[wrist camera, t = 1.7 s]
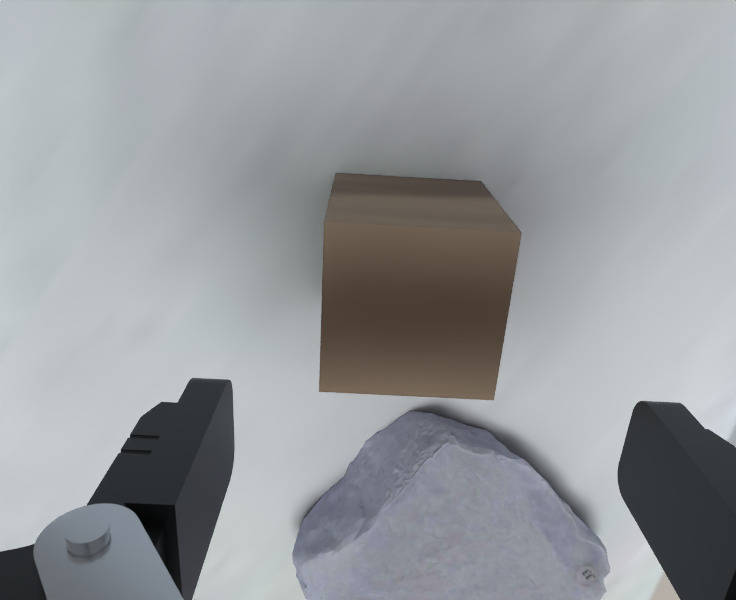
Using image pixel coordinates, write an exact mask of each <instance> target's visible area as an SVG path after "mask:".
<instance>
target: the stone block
mask: <svg viewBox="0 0 736 600" xmlns="http://www.w3.org/2000/svg"><path fill="white" fill-rule="evenodd" d="M293 562H294V565H295V567H296V569H297V573H296V576H297V578H298V580H299V582H300V585H301V588H302V591H303V593H304V595H305V597H306V599H307V600H600V599H601V598H602V597H603V595H604V593H605V592H606V589H605V586H604V583H603V579H604V578H605V577H606V575H607V574H608V573H609V572H610V566H609V563H608V560H607V552H606V548H605V547H604V545H603V543H602V542H601V540H600V539H599V538H598V537H597V536H596V535H595V534H594V533H593V532H592V531H591V530H590V529H589V527H588V526H587V525H585V524H584V523H583V522H582V521H581V520H580V519H579V518H578V517H577V516H576V515H575V514H574V513H573V511H572V510H571V508H570V506H569V505H568V504H567V503H565V502H564V501H563V500H562V499H561V498H560V497H558V495H557V494H556V493H555V491H554V490H553V489H552V488H551V486H550V485H549V483H548V482H547V481H546V480H545V479H544V478H543V477H542V476H541V475H540V474H538V473H537V472H536V471H535V469H534V468H533V467H532V466H531V465H530V464H529V463H528V462H527V461H525V460H524V459H522V458H520V457H519V456H517V455H515V454H513V453H512V452H510V451H509V450H508V449H507V448H506V446H505V445H504V444H502V443H501V442H499V441H498V440H496V439H495V437H494V436H493V435H492V434H491V433H490V432H488V431H486V430H484V429H482V428H476V427H472V426H469V425H466V424H463V423H461V422H458V421H456V420H452V419H449V418H444V417H441V416H439V415H436V414H433V413H427V412H421V411H410V412H408V413H406V414H404V415H402V416H401V417H399V418H398V419H397V420H396V421H395V422H394V423H392V424H391V425H389V426H388V427H386V428H384V429H383V430H382V431H380V432H378V433H376V434H375V435H374V436H373V437H371V438H370V439H368V440H367V441H366V442H365V444H364V446H363V447H362V449H361V450H360V452H359V454H358V455H357V457H356V458H355V459H354V461H353V462H351V463H350V464H349V467H348V469H347V472H346V475H345V476H344V477H343V478H342V479H341V480H339V482H338V483H337V484H336V485H334V486H333V487H331V488H330V489H329V491H327V492H326V493H325V494H324V495H323V496H322V497H321V499H320V500H319V501H318V502H317V503H316V504H315V506H314V507H313V508H312V509H311V511H310V512H309V513H308V515H307V516H306V517H305V518H304V519H303V522H302V524H301V525H300V529H299V532H298V536H297V539H296V542H295V546H294V550H293Z"/></svg>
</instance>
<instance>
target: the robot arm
mask: <svg viewBox="0 0 736 600" xmlns="http://www.w3.org/2000/svg"><path fill="white" fill-rule="evenodd" d="M233 461H234V419H233V390H232V383H231V381H230V380H223V379H202V378H192V379H190V381H189V383H188V385H187V386H186V388H185V390H184V392H183V394H182V396H181V398H180V399H179V401H178V403H171V402H161V403H159V404H158V405H157V406H155V407H154V408H153V409H151V410H150V411H148V412H147V413H146V414H144V415H143V416H142V417H141V418H140V419H139V421H138V423H137V424H136V426H135V428H134V429H133V431H132V432H131V434H130V438H128V439H127V441H126V442H125V444H124V445H123V447H122V449H121V453H119V454H118V455H117V457H116V458H115V460H114V462H113V463H112V465H111V467H110V468H109V470H108V471H107V473H106V475H105V476H104V478H103V480H102V481H101V483H100V484H99V486H98V488H97V489H96V491H95V493H94V494H93V496H92V497H91V499H90V501H89V502H88V504H87V506H83V507H80V508H77V509H74V510H72V511H70V512H67V513H65V514H64V515H62V516H60V517H58V518H57V519H55V520H54V521H53V522H51V523H50V524H49V525H48V526H47V527H46V528H45V529H44V530H43V531H42V532H41V533H40V535H39V537H38V538H37V540H36V542H35V544H33V545H30V546H26V547H22V548H18V549H12V550H7V551H2V552H0V600H192V598H193V595H194V591H195V588H196V585H197V582H198V579H199V576H200V573H201V569H202V566H203V563H204V560H205V557H206V554H207V551H208V547H209V544H210V541H211V538H212V535H213V532H214V529H215V525H216V522H217V519H218V516H219V513H220V510H221V507H222V503H223V500H224V497H225V494H226V491H227V488H228V485H229V482H230V478H231V474H232V469H233ZM618 484H619V489H620V493H621V495H622V498H623V500H624V501H625V503H626V505H627V507H628V508H629V510H630V512H631V514H632V515H633V517H634V519H635V521H636V522H637V524H638V526H639V528H640V529H641V531H642V533H643V535H644V536H645V538H646V540H647V542H648V543H649V545H650V547H651V549H652V550H653V552H654V554H655V556H656V557H657V559H658V561H659V563H660V564H661V566H662V568H663V570H664V572H665V573H666V575H667V577H668V579H669V580H670V582H671V584H672V585H673V587H674V589H675V591H676V593H677V594H678V596H679V598H680V599H681V600H736V448H735V447H734V446H733V445H732V444H730V443H729V442H727V441H726V440H724V439H723V438H721V437H720V436H718V435H716V434H715V433H713V432H712V431H710V430H709V429H704V427H703V426H702V425H701V424H700V423H699V422H698V421H697V420H696V418H695V417H694V416H693V415H692V414H691V413H690V412H689V411H688V409H687V408H686V407H685V406H684V405H682V404H681V403H672V402H652V401H640V402H638V403H637V404H636V406H635V407H634V409H633V412H632V416H631V420H630V424H629V427H628V431H627V435H626V439H625V442H624V446H623V450H622V454H621V458H620V461H619V466H618Z"/></svg>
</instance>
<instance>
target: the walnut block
mask: <svg viewBox="0 0 736 600" xmlns="http://www.w3.org/2000/svg"><path fill="white" fill-rule="evenodd" d="M520 239H521V231H520V230H519V229H518V227H517V226H516V225H515V224H514V222H513V221H512V220H511V219H510V217H509V216H508V215H507V214H506V212H505V211H504V210H503V208H502V207H501V206H500V205H499V203H498V202H497V201H496V200H495V198H494V197H493V196H492V195H491V193H490V192H489V191H488V189H487V188H486V187H485V186H484V184H483V183H482V182H481V181H467V180H450V179H432V178H415V177H398V176H380V175H363V174H345V173H336V174H335V178H334V182H333V187H332V191H331V195H330V199H329V203H328V208H327V212H326V216H325V220H324V245H323V279H322V313H321V347H320V380H319V392H337V393H357V394H378V395H398V396H418V397H439V398H459V399H480V400H494V396H495V390H496V384H497V378H498V372H499V366H500V360H501V354H502V348H503V342H504V336H505V329H506V323H507V317H508V311H509V305H510V299H511V293H512V287H513V281H514V275H515V269H516V263H517V257H518V251H519V245H520Z"/></svg>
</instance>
